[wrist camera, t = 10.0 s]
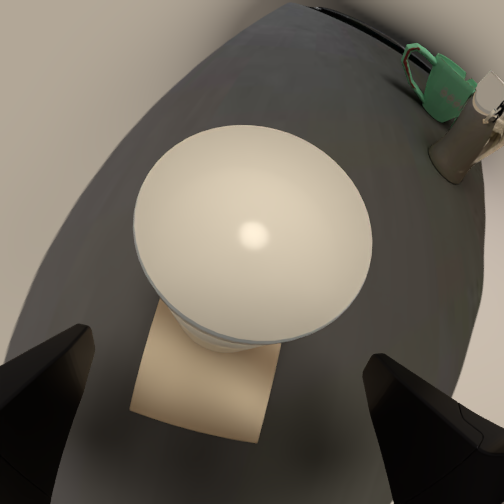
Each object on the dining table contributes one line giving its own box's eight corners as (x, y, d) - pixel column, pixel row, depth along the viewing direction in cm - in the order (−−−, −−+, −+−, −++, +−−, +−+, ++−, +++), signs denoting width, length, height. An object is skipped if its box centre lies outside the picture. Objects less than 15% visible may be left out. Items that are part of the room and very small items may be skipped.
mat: (255, 440, 13) (258, 444, 13) (131, 408, 13) (127, 410, 12) (295, 259, 18) (299, 255, 17) (186, 228, 18) (185, 222, 17)
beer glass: (467, 195, 26) (540, 127, 12) (431, 174, 26) (508, 90, 12) (454, 157, 29) (514, 92, 15) (420, 136, 28) (480, 59, 15)
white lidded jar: (283, 349, 15) (394, 325, 6) (174, 355, 14) (125, 346, 5) (272, 250, 17) (341, 135, 8) (173, 252, 16) (149, 123, 7)
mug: (450, 115, 35) (477, 82, 26) (457, 143, 31) (492, 105, 22) (386, 71, 36) (409, 31, 27) (385, 91, 32) (414, 43, 22)
